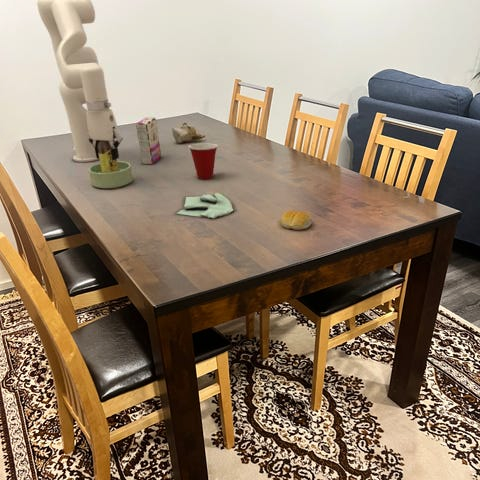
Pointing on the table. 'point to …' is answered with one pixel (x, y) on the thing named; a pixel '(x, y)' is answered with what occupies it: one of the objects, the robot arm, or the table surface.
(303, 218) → the bread roll
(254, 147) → the table surface
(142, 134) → the candy bar box
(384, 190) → the table surface
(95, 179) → the bowl
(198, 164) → the plastic cup
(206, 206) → the cloth
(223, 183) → the table surface
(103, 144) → the sauce bottle
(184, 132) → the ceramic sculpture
